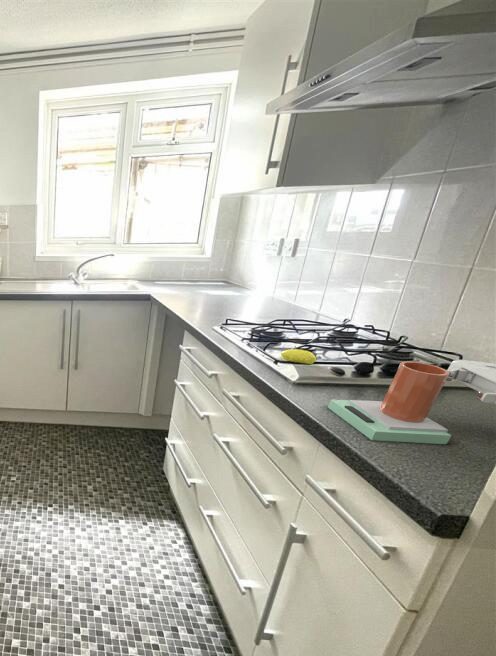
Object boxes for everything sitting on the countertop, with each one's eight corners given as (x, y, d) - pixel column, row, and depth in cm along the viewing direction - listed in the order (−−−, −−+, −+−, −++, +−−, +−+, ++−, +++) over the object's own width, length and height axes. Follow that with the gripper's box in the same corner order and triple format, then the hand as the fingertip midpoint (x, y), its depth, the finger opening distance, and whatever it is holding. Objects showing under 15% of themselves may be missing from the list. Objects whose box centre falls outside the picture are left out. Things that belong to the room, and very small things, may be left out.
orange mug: (390, 403, 86) (411, 359, 82) (431, 418, 81) (456, 371, 77) (372, 410, 84) (393, 364, 80) (413, 425, 79) (438, 377, 74)
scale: (391, 412, 89) (397, 399, 88) (445, 446, 78) (453, 432, 76) (326, 409, 90) (331, 396, 89) (370, 442, 79) (377, 428, 78)
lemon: (314, 368, 111) (319, 354, 109) (278, 362, 115) (283, 348, 113) (313, 363, 114) (318, 349, 112) (278, 357, 118) (282, 344, 116)
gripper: (505, 354, 84) (425, 350, 86) (623, 401, 66) (518, 393, 68) (488, 382, 87) (412, 377, 89) (598, 435, 69) (498, 426, 71)
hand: (459, 385), depth 79 cm, fingers open, 8 cm apart
